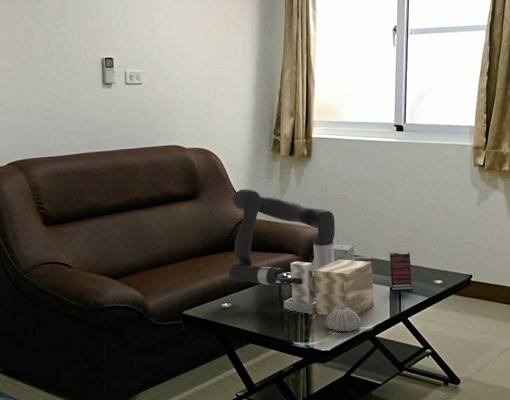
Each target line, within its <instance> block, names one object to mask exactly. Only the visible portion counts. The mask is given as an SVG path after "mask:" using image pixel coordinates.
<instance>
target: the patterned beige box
mask: <svg viewBox="0 0 510 400" xmlns="http://www.w3.org/2000/svg"><path fill="white" fill-rule="evenodd" d="M372 264H373V263H372V261H364V260H363V261H361V260H355V261H353V260H343V259H339V260H337V261H335V262H332V263H330V264H328V265H326V266H323V267H321V268H319V269H316V270H314V274H313V276H312V283H313V285H314V287H315V289H314V290H313V298H316V308H317V312H316V314H317V313H318V314H317V315H321V314H324V315H323V316H328V315H329V314H330V313H331V312H332V311H334V309H336V308H338V307H348V308H350V309H351V310H353V311H354V312H355V313H356V314H357V315H358V314H361V313H362V312H364V311H365V310H367V309H370V307H373V306H374V303H375V302H374V284H373V283H374V282H373V265H372Z"/></svg>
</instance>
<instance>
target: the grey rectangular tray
mask: <svg viewBox="0 0 510 400" xmlns="http://www.w3.org/2000/svg"><path fill="white" fill-rule="evenodd" d="M283 307H284V308H286V309H289V310H291V311H297V312H302V313H301V314H304V313H309V314H308V315H311V314H312V315H314V314H316V313H317V308H316V298H314V301H313V302H311V303H309V304H308V303H301V302H294V301H293V300H292V297H290V298H288V299H286V300H284V301H283ZM297 312H296V313H297ZM315 312H316V313H315ZM313 313H314V314H313Z"/></svg>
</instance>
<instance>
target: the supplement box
mask: <svg viewBox="0 0 510 400" xmlns="http://www.w3.org/2000/svg"><path fill="white" fill-rule="evenodd" d="M410 254H411V253H410V251H395V252H389V264H390V265H389V266H390V281H391V283H390V284H391V285H390V286H391V289H392V290H394V291H395V290H412V287H413V286H412V285H413V284H412V273H411V272H412V270H411V269H412V268H411V255H410Z"/></svg>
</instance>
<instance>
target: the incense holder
mask: <svg viewBox="0 0 510 400" xmlns="http://www.w3.org/2000/svg"><path fill="white" fill-rule="evenodd" d="M333 246H334V262H335V261H337V260H339V259H343V260H353V261H356V255H355V248H354V245H353V244H335V245H333Z"/></svg>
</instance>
